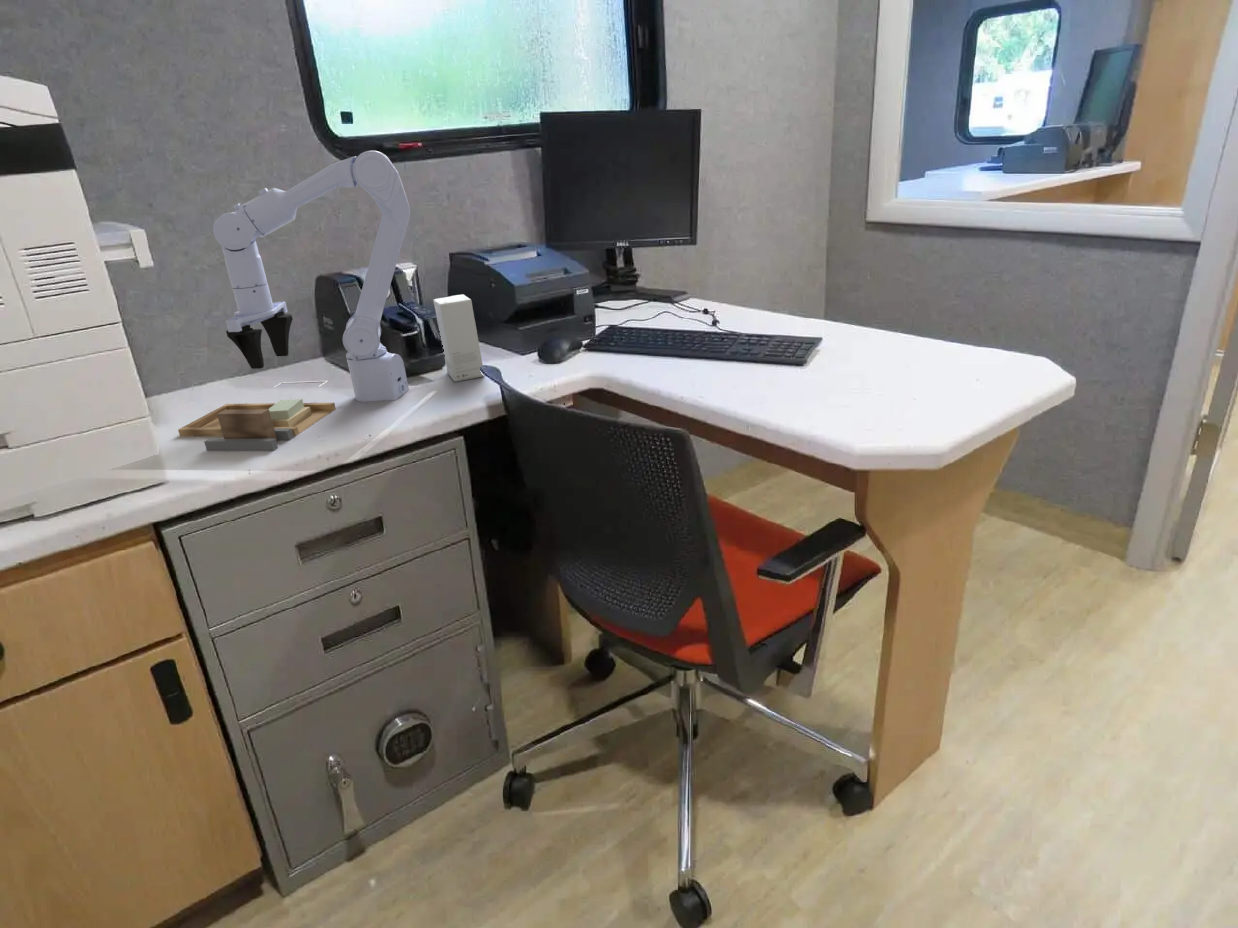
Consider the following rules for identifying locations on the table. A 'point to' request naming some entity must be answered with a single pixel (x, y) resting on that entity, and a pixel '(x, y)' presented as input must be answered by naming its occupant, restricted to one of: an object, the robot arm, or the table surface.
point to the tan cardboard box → (246, 424)
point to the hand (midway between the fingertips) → (270, 361)
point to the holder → (249, 442)
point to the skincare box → (459, 337)
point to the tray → (211, 424)
